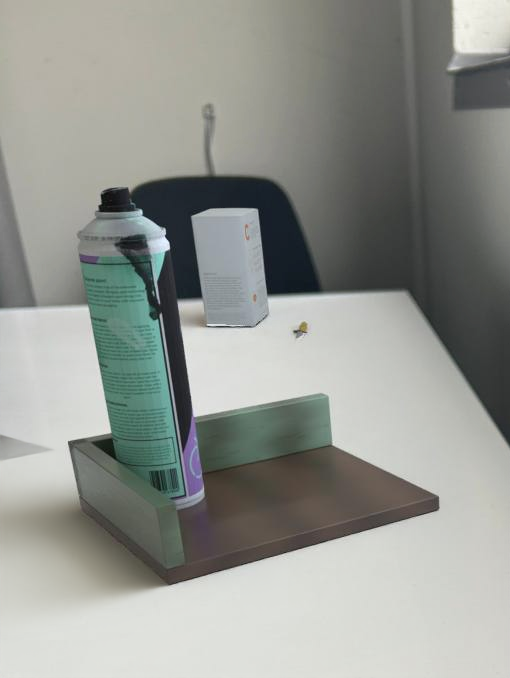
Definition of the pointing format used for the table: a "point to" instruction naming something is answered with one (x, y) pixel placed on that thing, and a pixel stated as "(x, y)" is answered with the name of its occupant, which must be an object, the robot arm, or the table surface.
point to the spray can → (141, 347)
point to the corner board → (245, 491)
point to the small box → (231, 266)
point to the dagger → (301, 329)
